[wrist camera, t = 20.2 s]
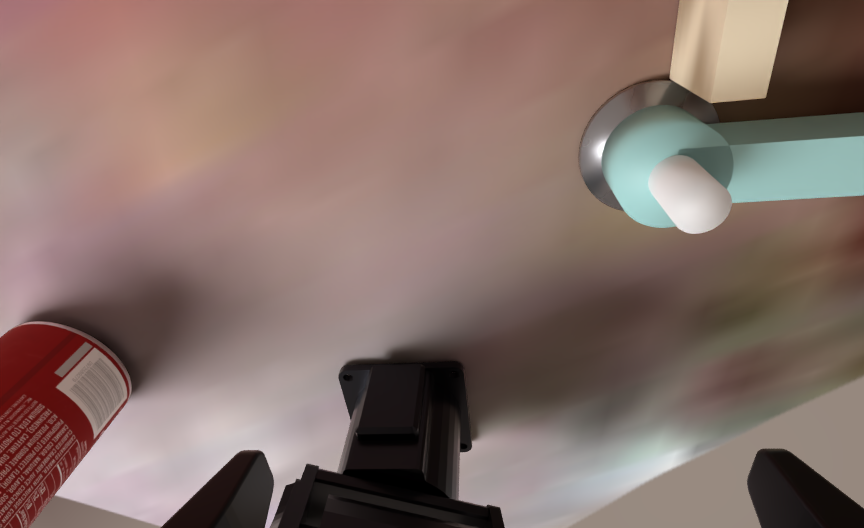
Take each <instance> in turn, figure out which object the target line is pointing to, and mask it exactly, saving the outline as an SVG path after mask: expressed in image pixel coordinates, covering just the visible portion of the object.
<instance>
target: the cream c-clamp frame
mask: <svg viewBox="0 0 864 528" xmlns="http://www.w3.org/2000/svg"><path fill="white" fill-rule="evenodd" d="M788 1H789V0H680V2H679V9H678V17H677V24H676V32H675V40H674V47H673V55H672V62H671V70H670V77H669V79H671V80H673V81H674V82H676V83H678V84H679V85H681V86H683V87H684V88H686V89H688V90H689V91H691V92H693V93H694V94H696V95H698V96H699V97H701V98H703V99H704V100H706V101H708V102H709V103H717V102H728V101H739V100H750V99H760V98H766V94H767V90H768V86H769V82H770V77H771V73H772V69H773V65H774V60H775V56H776V52H777V47H778V43H779V39H780V35H781V30H782V26H783V22H784V18H785V13H786V9H787V5H788Z"/></svg>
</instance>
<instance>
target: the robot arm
mask: <svg viewBox="0 0 864 528" xmlns="http://www.w3.org/2000/svg"><path fill="white" fill-rule="evenodd" d="M451 371H457V372H456V373H454V372H451ZM346 374H349V375H351V376H348V375H346ZM339 381H340V385H341V388H342V391H343V395H344V398H345V402H346V405H347V409H348V412H349V416H350V419H351V423H350V426H349V430H348V434H347V438H346V441H345V445H344V449H343V453H342V456H341V460H340V464H339V468H338V471H337V473H336V472H332V471H327V470H323V469H319V466H315V465H311V464H306V467H305V470H304V472H303V475H302V478H301V480H300V479H296V481H295V483H293V484H289V485H286V487H285V489H284V492H283V495H282V498H281V501H280V503H279V506H278V509H277V512H276V514H275V517H274V519H273V522H272V524H271V526H270V528H505V527H504V523H503V518H502V514H501V510H500V507H496V506H491V505H487V506H481V505H477V504H473V503H468V502H464V501H459V500H458V496H459V460H460V452H467V451H469V450H471V448H472V436H471V427H470V418H469V408H468V399H467V389H466V380H465V371H464V367H463V365H462V364H461V363H458V362H428V363H399V364H370V365H347V366H343V367H342V368H341V370H340V373H339ZM747 485H748V490H749V494H750V496H751V500H752V502H753V505H754V508H755V511H756V514H757V517H758V519H759V522H760V525H761V528H864V508H862V507H861V506H860V505H858V504H857V503H856V502H855V501H853V500H852V499H851V498H849V497H848V496H847V495H846V494H844V493H843V492H842V491H840V490H839V489H838V488H836V487H835V486H834V485H833V484H831V483H830V482H829V481H827V480H826V479H825V478H824V477H822V476H821V475H820V474H818V473H817V472H815V471H814V470H813V469H812V468H810V467H809V466H808V465H807V464H805V463H804V462H803V461H802V460H800V459H799V458H797V457H796V456H795V455H794V454H792V453H791V452H789V451H787V450H785V449H761V450H759V451H758V452H757V454H756V457H755V460H754V462H753V465H752V468H751V470H750V473H749V475H748V480H747ZM273 487H274V479H273V475H272V472H271V470H270V467H269V465H268V462H267V460H266V457H265V455H264V453H263V452H262V451H259V450H244V451H241V452H239V453H237V454H236V455H235V456H234V457H233V458H232V459H231V460H230V461H229V462H228V463H227V464H226V465H225V466H224V467H223V468H222V469H221V470H220V471H219V472H218V473H217V474H216V475H215V476H214V477H212V478H211V479H210V480H209V481H208V482H207V483H206V484H205V485H204V486H203V487H202V488H201V489H200V490H199V491H198V492H197V493H196V494H195V495H194V496H193V497H192V498H191V499H190V500H189V501H188V502H187V503H186V504H185V505H184V506H183V507H182V508H181V509H179V510H178V511H177V512H176V513H175V514H174V515H173V516H172V517H171V518H170V519H169V520H168V521H167V522H166V523H165V524H164V525H163V526H162V527H161V528H265V524H266V519H267V515H268V510H269V506H270V501H271V497H272V493H273Z"/></svg>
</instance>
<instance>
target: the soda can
mask: <svg viewBox="0 0 864 528" xmlns="http://www.w3.org/2000/svg"><path fill="white" fill-rule="evenodd" d="M131 391H132V386H131V380H130V376H129V374H128V372H127V370H126V368H125V366H124V365H123V363H122V362H121V361H120V359H119V358H118V357H117V356H116V355H115V354H114V353H113V352H112V351H111V350H110V349H109V348H108V347H106V346H105V345H104V344H103V343H101V342H100V341H98V340H97V339H95V338H94V337H92V336H90V335H88V334H86V333H84V332H82V331H80V330H77V329H75V328H72V327H69V326H66V325H63V324H58V323H53V322H44V321H36V322H28V323H23V324H20V325H18V326H15V327H14V328H12V329H11V330H9V331H8V332H7V333H6V334H4V335H3V336H2V337H1V338H0V528H29V527H30V525H31V524H32V523H33V522H34V520H35V519H36V518H37V517H38V515H39V514H40V513H41V511H42V510H43V509H44V508H45V506H46V505H47V504H48V502H49V501H50V500H51V499H52V497H53V496H54V495H55V494H56V492H57V491H58V490H59V489H60V487H61V486H62V485H63V483H64V482H65V481H66V480H67V478H68V477H69V476H70V475H71V473H72V472H73V471H74V469H75V468H76V467H77V466H78V464H79V463H80V462H81V461H82V459H83V458H84V457H85V455H86V454H87V453H88V452H89V450H90V449H91V448H92V446H93V445H94V444H95V443H96V441H97V440H98V439H99V438H100V436H101V435H102V434H103V432H104V431H105V430H106V429H107V427H108V426H109V425H110V424H111V422H112V421H113V420H114V418H115V417H116V416H117V415H118V413H119V412H120V411H121V409H122V408H123V407H124V406H125V404H126V403H127V402H128V400H129V398H130V395H131Z"/></svg>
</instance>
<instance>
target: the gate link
mask: <svg viewBox="0 0 864 528" xmlns="http://www.w3.org/2000/svg"><path fill="white" fill-rule="evenodd" d="M601 165H602V172H603V175H604V177H605V180H606V182H607V183H608V185H609V187H610V188H611V190H612V191H613V193H614V195H615V196H616V198H617V200H618V201H619V203H620V205H621V206H622V208H623V209H624V211H625V212H626V213H627V214H628V215H629V216H630V217H631V218H632V219H634V220H635V221H637V222H639V223H641V224H644V225H646V226H651V227H657V228H667V227H675V226H677V227H678V228H679V229H680V230H682V231H684V232H687V233H692V234H698V233H704V232H707V231H710V230H712V229H714V228H716V227H717V226H719V225H720V224H721V223H722V222H723V221H724V220H725V219H726V218H727V216H728V214H729V212H730V210H731V206H732V203H740V202H757V201H774V200H791V199H808V198H826V197H843V196H860V195H864V112H859V113H846V114H833V115H820V116H807V117H793V118H780V119H767V120H754V121H741V122H728V123H715V124H705V123H703V122H702V121H701V120H699V119H698V118H696V117H695V116H693V115H692V114H691V113H689V112H687V111H686V110H684V109H682V108H679V107H676V106H670V105H656V106H650V107H647V108H644V109H641V110H639V111H636V112H635V113H633V114H631V115H629V116H628V117H627V118H625V119H624V120H623V121H622V122H620V123H619V124H618V125H617V126H616V128H615V129H614V130H613V131H612V133H611V134H610V136H609V137H608V139H607V141H606V143H605V146H604V149H603V152H602V158H601Z"/></svg>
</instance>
